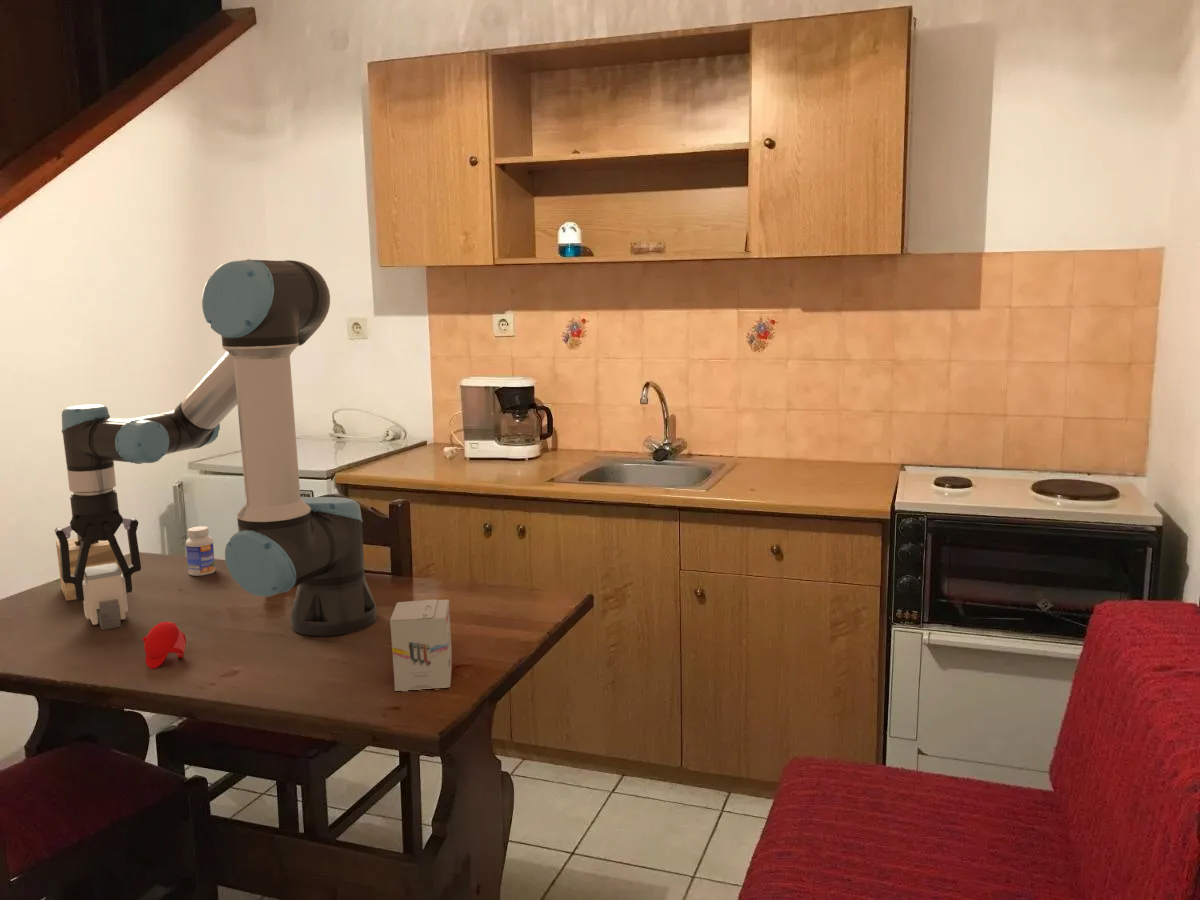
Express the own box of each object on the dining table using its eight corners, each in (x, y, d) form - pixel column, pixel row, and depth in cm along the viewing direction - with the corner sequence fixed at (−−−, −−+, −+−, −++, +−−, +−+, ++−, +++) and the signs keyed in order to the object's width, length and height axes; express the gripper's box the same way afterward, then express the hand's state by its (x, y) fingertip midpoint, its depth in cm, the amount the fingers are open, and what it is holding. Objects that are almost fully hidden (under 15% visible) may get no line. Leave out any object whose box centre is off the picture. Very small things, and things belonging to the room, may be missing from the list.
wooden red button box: (122, 591, 195) (117, 543, 193) (66, 600, 189) (60, 551, 187) (115, 579, 202) (110, 533, 200) (61, 588, 197) (55, 541, 195)
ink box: (399, 670, 155) (396, 599, 152) (453, 667, 155) (450, 597, 153) (392, 692, 146) (388, 618, 144) (449, 690, 147) (446, 616, 145)
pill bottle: (205, 577, 203) (201, 532, 202) (182, 575, 204) (178, 531, 203) (220, 569, 209) (217, 525, 207) (198, 568, 210) (194, 524, 208)
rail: (120, 626, 175) (118, 600, 174) (102, 630, 173) (99, 603, 172) (103, 594, 193) (100, 570, 192) (86, 597, 191) (83, 573, 190)
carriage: (126, 618, 178) (120, 570, 176) (92, 625, 174) (87, 576, 173) (120, 609, 182) (115, 562, 181) (88, 615, 179) (82, 567, 178)
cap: (155, 631, 164) (132, 624, 158) (187, 620, 163) (165, 613, 158) (159, 676, 160) (136, 671, 155) (192, 665, 160) (169, 660, 154)
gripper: (145, 480, 182) (156, 597, 186) (32, 493, 172) (47, 617, 176) (152, 487, 176) (164, 608, 180) (36, 501, 166) (51, 629, 170)
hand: (106, 612), depth 178 cm, fingers closed on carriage, 5 cm apart
